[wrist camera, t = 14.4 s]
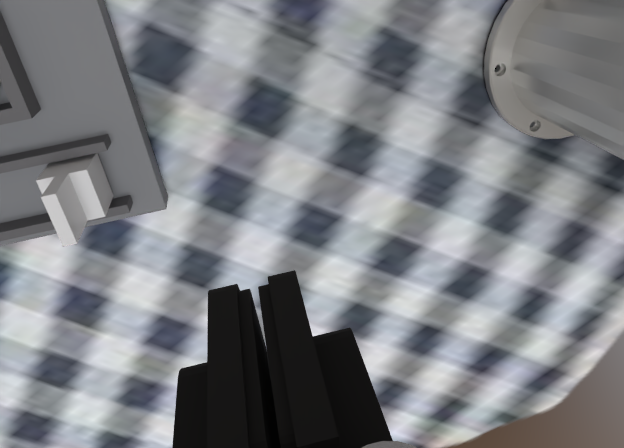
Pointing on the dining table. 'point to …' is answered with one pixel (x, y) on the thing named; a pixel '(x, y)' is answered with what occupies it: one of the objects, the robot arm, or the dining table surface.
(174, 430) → the robot arm
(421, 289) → the dining table surface
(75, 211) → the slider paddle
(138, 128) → the control panel
